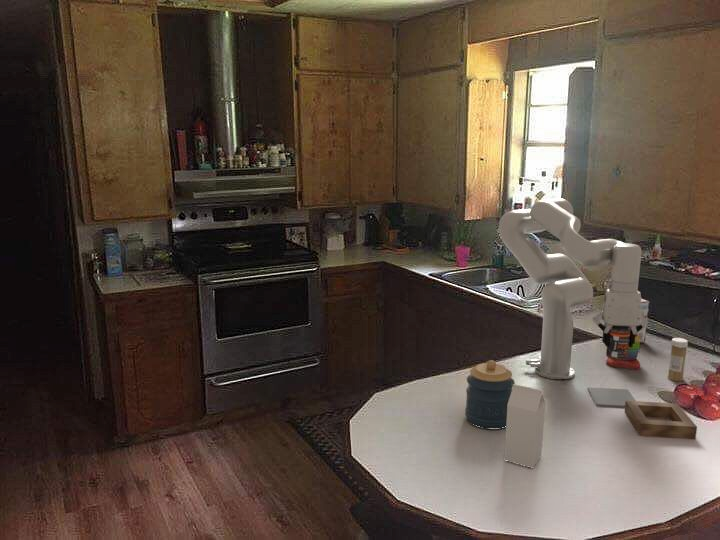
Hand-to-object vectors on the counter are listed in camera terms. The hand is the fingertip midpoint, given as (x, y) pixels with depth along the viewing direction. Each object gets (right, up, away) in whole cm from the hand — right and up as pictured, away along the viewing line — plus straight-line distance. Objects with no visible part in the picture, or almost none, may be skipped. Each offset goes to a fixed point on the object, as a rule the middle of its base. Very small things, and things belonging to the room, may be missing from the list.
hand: (618, 344), depth 180 cm
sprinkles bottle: (+26, -14, +18) cm, 35 cm away
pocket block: (+6, -20, -13) cm, 25 cm away
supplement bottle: (0, -4, +1) cm, 4 cm away
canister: (-40, -20, -9) cm, 46 cm away
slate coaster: (0, -17, +4) cm, 17 cm away
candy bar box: (+29, -5, +56) cm, 63 cm away
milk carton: (-36, -25, -30) cm, 53 cm away
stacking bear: (+15, -10, +31) cm, 36 cm away
